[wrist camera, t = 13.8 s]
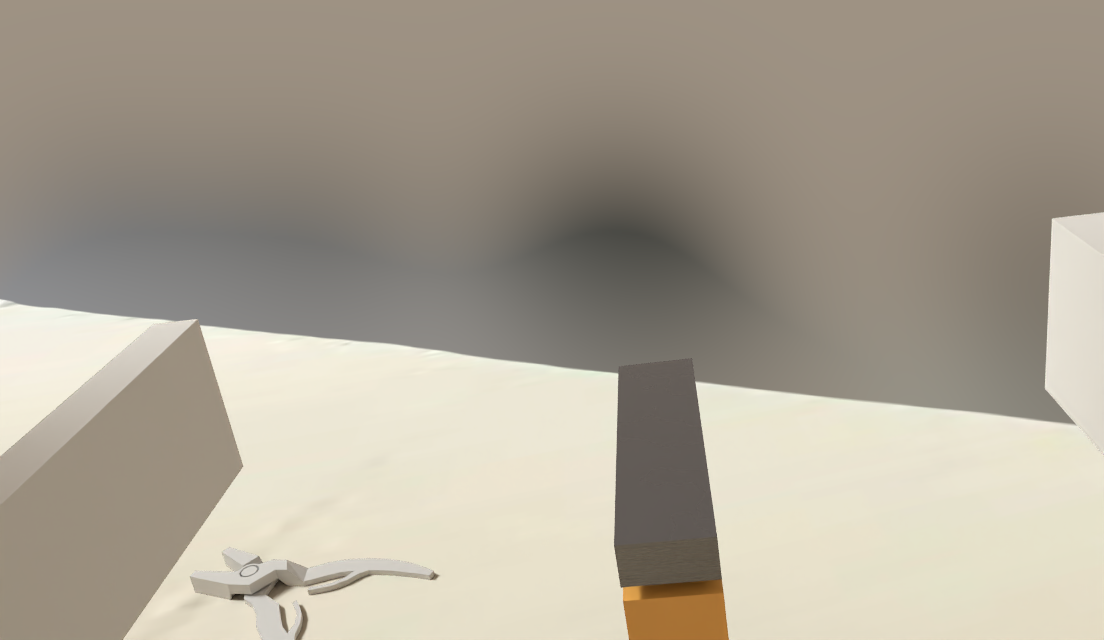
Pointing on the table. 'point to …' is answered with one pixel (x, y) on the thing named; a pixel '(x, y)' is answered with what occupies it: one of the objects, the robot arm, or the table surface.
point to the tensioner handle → (676, 611)
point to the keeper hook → (662, 479)
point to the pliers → (289, 583)
